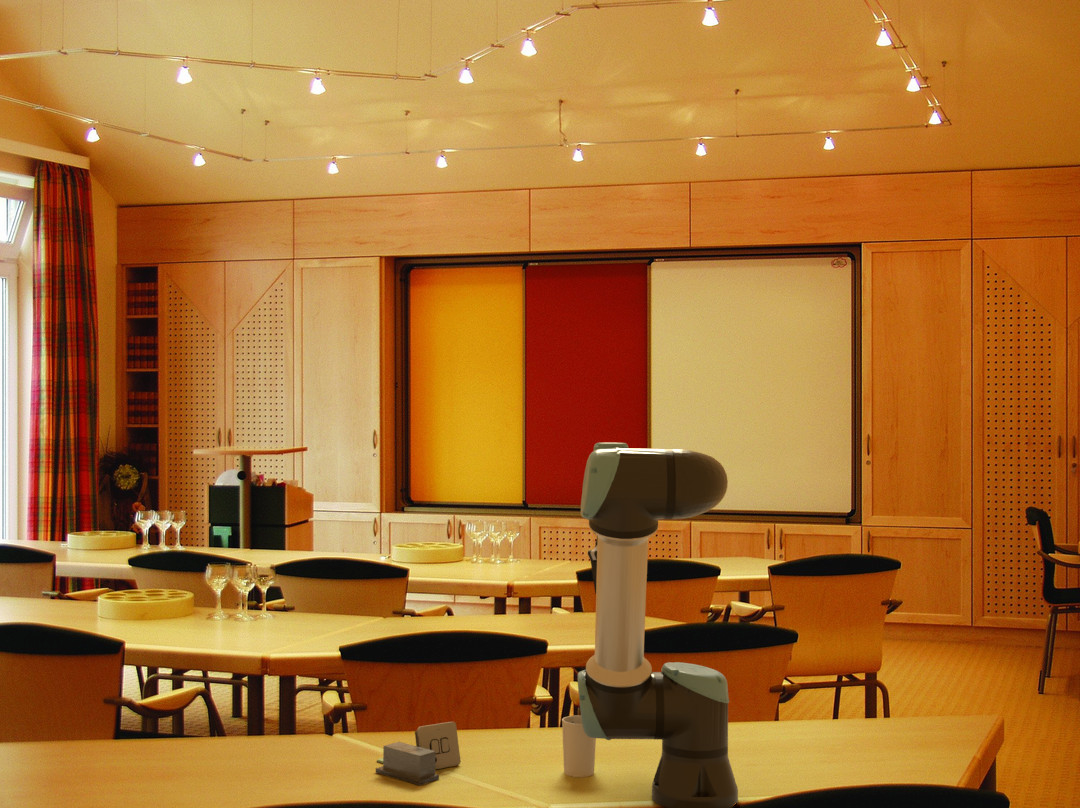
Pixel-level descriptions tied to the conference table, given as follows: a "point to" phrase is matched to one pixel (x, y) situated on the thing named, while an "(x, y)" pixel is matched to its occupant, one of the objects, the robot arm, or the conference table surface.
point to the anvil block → (408, 763)
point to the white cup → (577, 748)
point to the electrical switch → (440, 743)
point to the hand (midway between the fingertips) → (609, 628)
